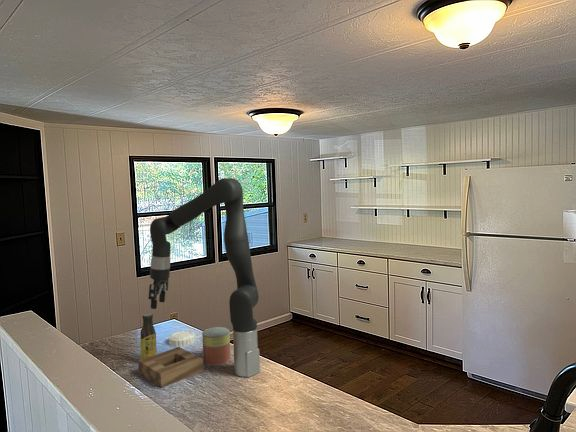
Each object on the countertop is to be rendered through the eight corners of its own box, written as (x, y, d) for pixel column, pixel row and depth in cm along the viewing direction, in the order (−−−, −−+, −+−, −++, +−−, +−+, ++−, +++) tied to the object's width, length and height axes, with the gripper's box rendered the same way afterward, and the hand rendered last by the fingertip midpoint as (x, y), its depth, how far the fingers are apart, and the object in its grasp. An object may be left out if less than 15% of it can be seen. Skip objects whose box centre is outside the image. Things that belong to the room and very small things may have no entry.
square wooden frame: (203, 371, 167) (203, 358, 167) (161, 387, 155) (160, 374, 154) (179, 358, 180) (178, 346, 180) (138, 372, 168) (137, 360, 167)
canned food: (233, 354, 183) (232, 327, 182) (227, 365, 172) (225, 336, 171) (207, 354, 184) (206, 326, 183) (199, 365, 173) (198, 336, 172)
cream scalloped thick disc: (200, 340, 201) (200, 332, 201) (181, 349, 191) (181, 341, 191) (182, 335, 208) (182, 328, 207) (163, 344, 197) (162, 336, 197)
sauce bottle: (146, 365, 174) (144, 318, 172) (137, 362, 177) (135, 315, 176) (160, 360, 179) (158, 313, 177) (151, 356, 183) (148, 311, 181)
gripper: (162, 271, 165) (159, 312, 167) (175, 263, 179) (173, 301, 181) (143, 269, 166) (141, 309, 168) (158, 261, 180) (156, 298, 182)
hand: (157, 305), depth 174 cm, fingers open, 8 cm apart
